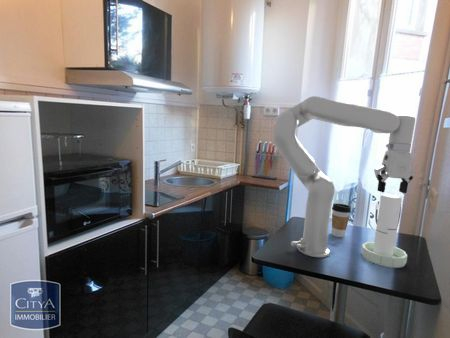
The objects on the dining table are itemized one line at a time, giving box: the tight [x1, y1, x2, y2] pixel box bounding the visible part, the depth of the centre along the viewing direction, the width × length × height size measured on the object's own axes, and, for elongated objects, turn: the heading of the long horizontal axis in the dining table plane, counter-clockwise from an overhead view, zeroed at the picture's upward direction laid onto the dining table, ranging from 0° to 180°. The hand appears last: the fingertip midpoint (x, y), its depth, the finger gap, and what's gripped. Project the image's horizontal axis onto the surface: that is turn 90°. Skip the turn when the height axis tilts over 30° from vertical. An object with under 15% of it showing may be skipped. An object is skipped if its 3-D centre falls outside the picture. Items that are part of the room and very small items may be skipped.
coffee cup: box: [331, 203, 351, 238], centre depth 144 cm, size 8×8×15 cm
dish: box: [361, 241, 408, 269], centre depth 120 cm, size 16×16×4 cm
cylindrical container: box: [373, 193, 403, 257], centre depth 119 cm, size 7×7×25 cm
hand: (391, 192), depth 117 cm, fingers open, 9 cm apart
